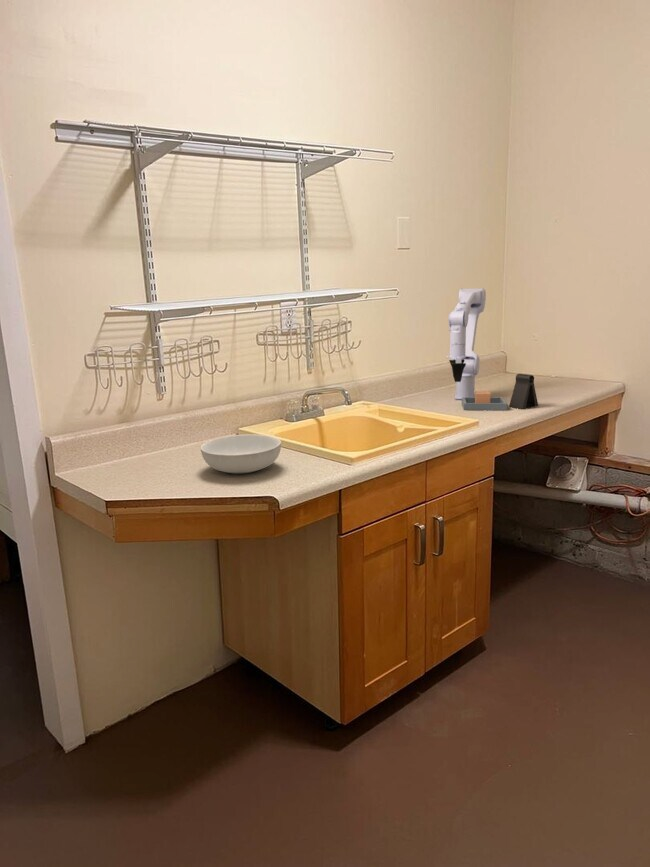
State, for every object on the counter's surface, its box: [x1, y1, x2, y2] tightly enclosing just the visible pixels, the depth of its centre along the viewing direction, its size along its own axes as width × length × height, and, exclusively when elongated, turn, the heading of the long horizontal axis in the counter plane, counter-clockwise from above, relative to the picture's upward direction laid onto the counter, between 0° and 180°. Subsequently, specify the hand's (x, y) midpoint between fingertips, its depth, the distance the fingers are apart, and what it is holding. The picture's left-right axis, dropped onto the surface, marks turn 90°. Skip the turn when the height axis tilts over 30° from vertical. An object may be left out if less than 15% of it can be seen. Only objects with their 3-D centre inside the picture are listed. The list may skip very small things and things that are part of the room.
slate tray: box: [461, 396, 508, 412], centre depth 243 cm, size 13×15×2 cm
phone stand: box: [508, 373, 539, 410], centre depth 240 cm, size 9×6×12 cm, turn 124°
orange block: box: [474, 390, 491, 403], centre depth 243 cm, size 5×5×5 cm
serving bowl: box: [199, 433, 282, 474], centre depth 172 cm, size 21×21×7 cm
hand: (457, 380), depth 247 cm, fingers open, 7 cm apart
